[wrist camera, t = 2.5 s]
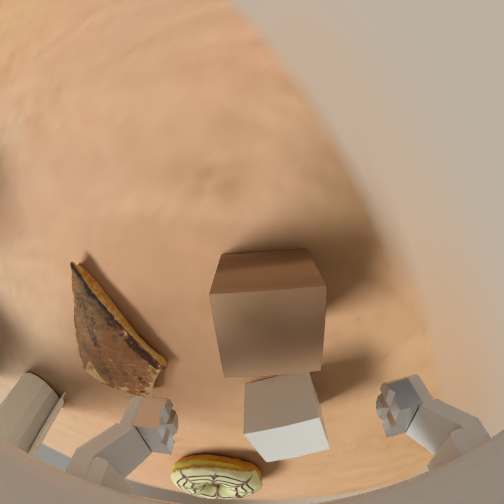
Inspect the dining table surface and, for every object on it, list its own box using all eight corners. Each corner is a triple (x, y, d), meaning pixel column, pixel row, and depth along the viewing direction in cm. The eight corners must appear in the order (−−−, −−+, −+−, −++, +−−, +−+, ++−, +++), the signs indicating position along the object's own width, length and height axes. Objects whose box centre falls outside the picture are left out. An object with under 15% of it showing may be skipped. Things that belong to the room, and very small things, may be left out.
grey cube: (245, 383, 20) (243, 434, 15) (307, 366, 19) (319, 417, 15) (264, 416, 21) (266, 462, 17) (319, 403, 21) (329, 448, 16)
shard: (81, 254, 17) (67, 263, 15) (179, 282, 17) (173, 295, 16) (88, 363, 20) (80, 375, 19) (166, 390, 21) (161, 404, 19)
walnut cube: (221, 254, 16) (209, 294, 12) (306, 248, 16) (326, 285, 11) (230, 324, 18) (224, 377, 13) (305, 319, 18) (320, 370, 13)
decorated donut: (257, 483, 27) (258, 504, 24) (180, 476, 27) (176, 497, 24) (266, 452, 24) (267, 480, 20) (168, 443, 24) (162, 470, 20)
